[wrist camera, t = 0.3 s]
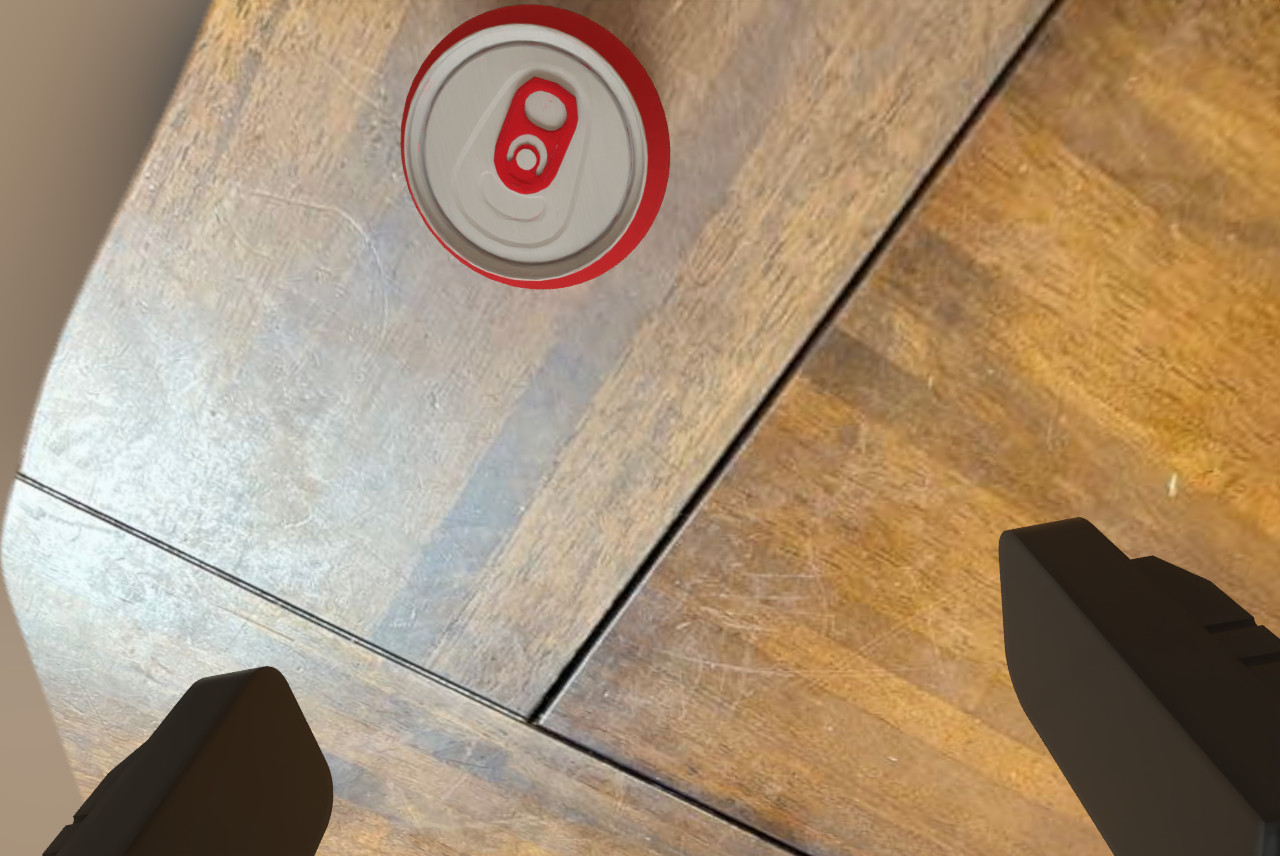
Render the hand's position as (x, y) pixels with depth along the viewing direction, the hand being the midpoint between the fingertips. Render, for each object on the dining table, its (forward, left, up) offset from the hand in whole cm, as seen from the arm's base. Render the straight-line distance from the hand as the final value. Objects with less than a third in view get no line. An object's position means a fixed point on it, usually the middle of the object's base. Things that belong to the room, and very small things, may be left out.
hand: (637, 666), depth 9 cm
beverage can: (-5, -1, -23) cm, 23 cm away
